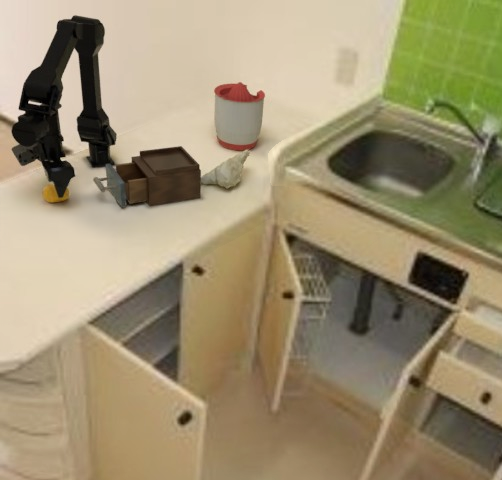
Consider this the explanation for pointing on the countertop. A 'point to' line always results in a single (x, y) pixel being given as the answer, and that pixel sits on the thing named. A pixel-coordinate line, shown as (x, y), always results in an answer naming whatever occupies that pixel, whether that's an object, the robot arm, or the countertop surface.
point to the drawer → (125, 183)
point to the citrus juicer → (238, 116)
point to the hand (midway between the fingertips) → (55, 189)
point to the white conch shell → (227, 171)
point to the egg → (53, 194)
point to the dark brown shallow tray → (169, 160)
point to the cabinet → (170, 185)
